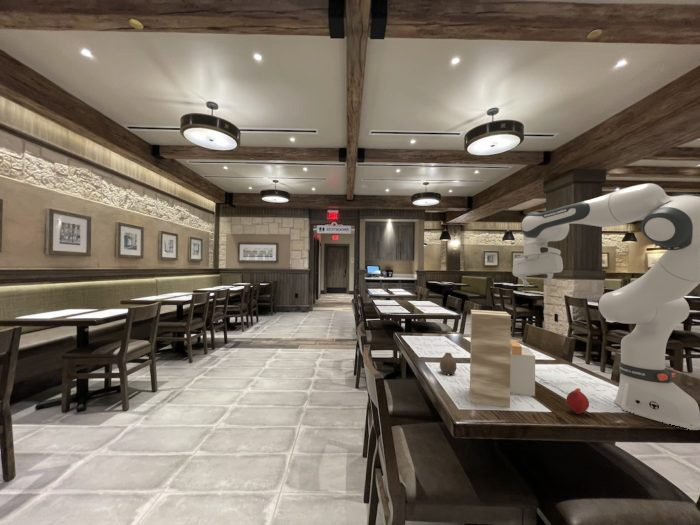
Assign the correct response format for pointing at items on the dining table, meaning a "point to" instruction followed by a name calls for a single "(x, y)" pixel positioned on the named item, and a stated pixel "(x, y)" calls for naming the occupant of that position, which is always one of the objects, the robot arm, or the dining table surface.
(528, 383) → the white box
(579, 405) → the onion
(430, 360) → the dining table surface
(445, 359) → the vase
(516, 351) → the orange bar
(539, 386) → the dining table surface
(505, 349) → the tall stand
